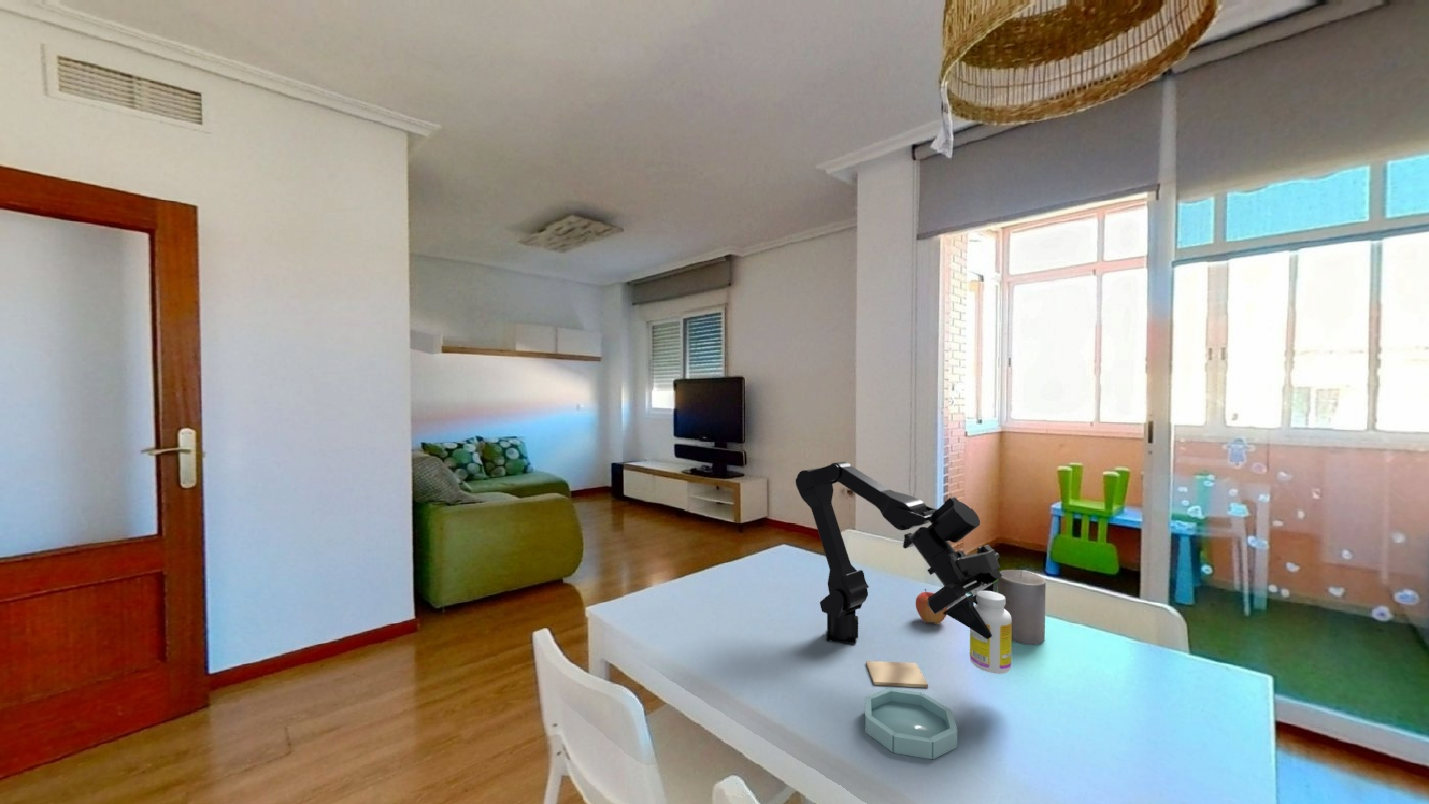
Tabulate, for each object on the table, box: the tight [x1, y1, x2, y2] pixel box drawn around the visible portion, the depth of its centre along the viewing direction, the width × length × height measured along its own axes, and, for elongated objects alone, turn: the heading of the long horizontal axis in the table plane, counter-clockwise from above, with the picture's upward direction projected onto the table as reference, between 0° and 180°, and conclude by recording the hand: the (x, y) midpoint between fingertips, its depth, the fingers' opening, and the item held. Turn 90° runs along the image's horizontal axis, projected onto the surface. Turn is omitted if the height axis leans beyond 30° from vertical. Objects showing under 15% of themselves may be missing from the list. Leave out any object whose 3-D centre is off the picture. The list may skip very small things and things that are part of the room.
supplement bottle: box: [969, 591, 1012, 675], centre depth 95 cm, size 7×7×13 cm
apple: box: [915, 588, 948, 625], centre depth 129 cm, size 7×7×8 cm
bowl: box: [864, 687, 958, 760], centre depth 88 cm, size 14×14×3 cm
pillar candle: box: [997, 569, 1047, 646], centre depth 122 cm, size 10×10×15 cm
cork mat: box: [865, 660, 929, 689], centre depth 105 cm, size 10×8×1 cm
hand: (998, 632), depth 94 cm, fingers closed on supplement bottle, 7 cm apart
